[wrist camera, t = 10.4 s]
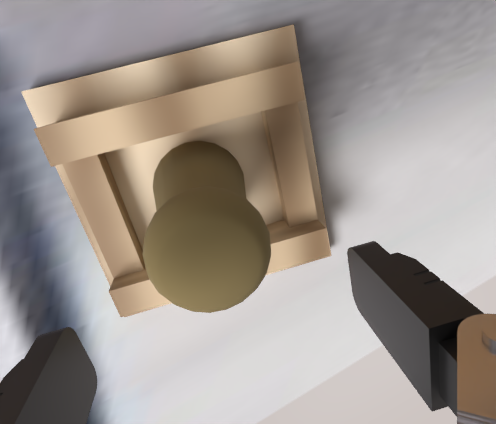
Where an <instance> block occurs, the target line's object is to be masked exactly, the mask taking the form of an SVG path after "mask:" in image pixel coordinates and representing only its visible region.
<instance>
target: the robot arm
mask: <svg viewBox="0 0 496 424" xmlns="http://www.w3.org/2000/svg"><path fill="white" fill-rule="evenodd" d="M347 255H348V263H349V270H350V277H351V285H352V292H353V297H354V300H355V303H356V305H357V308H358V310H359V311H360V313H361V315H362V316H363V317H364V319H365V320H366V321H367V323H368V324H369V326H370V327H371V328H372V330H373V331H374V332H375V334H376V335H377V337H378V338H379V339H380V341H381V342H382V343H383V345H384V346H385V348H386V349H387V350H388V352H389V353H390V354H391V356H392V357H393V359H394V360H395V361H396V363H397V364H398V365H399V367H400V368H401V369H402V371H403V372H404V374H405V375H406V376H407V378H408V379H409V380H410V382H411V383H412V385H413V386H414V387H415V389H416V390H417V392H418V393H419V394H420V396H421V397H422V398H423V400H424V401H425V403H426V404H427V405H428V407H429V408H430V409H431V411H435V410H438V409H441V408H444V407H447V406H449V407H450V409H451V410H452V411H453V413H454V414H455V415H456V416H457V424H496V314H484V313H483V312H481V311H480V310H479V309H478V308H476V307H475V306H474V305H473V304H471V303H470V302H469V301H468V300H466V299H465V298H464V297H463V296H461V295H460V294H459V293H457V292H456V291H455V290H454V289H452V288H451V287H450V286H449V285H447V284H446V283H445V282H444V281H440V278H439V277H437V276H436V275H435V274H434V273H432V272H429V269H427V268H426V267H425V266H423V265H422V264H421V263H420V262H418V261H417V260H416V259H414V258H411V257H408V256H406V255H403V254H400V253H394V254H391V255H390V254H389V253H388V252H387V251H386V250H385V249H383V248H382V247H381V246H380V245H379V244H378V243H376V242H375V241H372V242H369V243H365V244H362V245H358V246H355V247H351V248H349V249H348V252H347ZM96 389H97V376H96V371H95V368H94V366H93V364H92V362H91V360H90V359H89V357H88V355H87V353H86V351H85V349H84V347H83V345H82V343H81V342H80V340H79V338H78V336H77V334H76V332H75V331H74V330H73V329H72V328H70V327H67V328H63V329H60V330H56V331H52V332H49V333H45V334H42V335H40V336H38V337H37V338H36V340H35V342H34V343H33V345H32V346H31V348H30V350H29V351H28V353H27V355H26V356H25V358H24V359H22V360H21V361H20V362H19V363H18V364H17V365H16V366H15V367H14V368H13V369H12V370H11V371H10V372H9V373H8V374H7V375H6V376H5V377H4V378H3V380H2V381H1V383H0V424H86V422H87V419H88V416H89V412H90V409H91V406H92V403H93V400H94V396H95V393H96Z"/></svg>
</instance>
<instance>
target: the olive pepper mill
mask: <svg viewBox="0 0 496 424" xmlns="http://www.w3.org/2000/svg"><path fill="white" fill-rule="evenodd" d="M153 193H154V199H155V205H156V212H155V214H154V216H153V218H152V220H151V222H150V224H149V226H148V227H147V229H146V233H145V237H144V245H143V253H142V255H143V259H144V263H145V267H146V271H147V274H148V278H149V279H150V281H151V282H152V284H153V285H154V287H155V288H156V290H157V291H158V293H160V294H161V295H162V296H164V297H165V298H166V299H168V300H169V301H170V302H171V303H173V304H175V305H176V306H179V307H182V308H185V309H187V310H190V311H194V312H208V313H211V312H216V311H221V310H226V309H228V308H231V307H233V306H235V305H237V304H239V303H241V302H243V301H244V300H245V299H246V298H247V297H248V296H249V295H250V294H252V293H253V292H254V291H255V290H256V289H257V288H258V286H259V285H260V283H261V281H262V280H263V278H264V277H265V275H266V273H267V270H268V266H269V262H270V258H271V243H270V233H269V230H268V228H267V226H266V224H265V222H264V220H263V218H262V216H261V214H260V212H259V211H258V210H257V209H256V208H255V207H254V206H253V205H252V204H251V203H250V202H249V201H248V200H247V199H246V191H245V182H244V173H243V171H242V169H241V167H240V165H239V163H238V161H237V160H236V158H235V157H234V156H233V155H232V154H231V153H230V152H229V151H228V150H226V149H224V148H223V147H221V146H219V145H217V144H215V143H210V142H205V141H193V142H186V143H183V144H181V145H179V146H177V147H175V148H173V149H171V150H170V151H169V152H168V153H167V154H166V155H165V156H164V157H163V158H162V159H161V160H160V162H159V164H158V166H157V168H156V170H155V172H154V179H153Z"/></svg>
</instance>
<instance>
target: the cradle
mask: <svg viewBox="0 0 496 424" xmlns="http://www.w3.org/2000/svg"><path fill="white" fill-rule="evenodd" d="M22 94H23V97H24V99H25V101H26V103H27V105H28V108H29V110H30V112H31V114H32V116H33V118H34V121H35V123H36V125H37V127H38V128H35V129H34V131H35V133H36V135H37V137H38V140H39V142H40V144H41V146H42V148H43V150H44V152H45V155H46V157H47V159H48V161H49V163H50V165H51V167H52V166H55V167H56V169H57V171H58V173H59V175H60V177H61V180H62V182H63V184H64V186H65V188H66V191H67V193H68V195H69V197H70V199H71V201H72V204H73V206H74V208H75V210H76V212H77V215H78V217H79V219H80V221H81V223H82V225H83V228H84V230H85V232H86V234H87V236H88V239H89V241H90V243H91V245H92V247H93V249H94V252H95V254H96V256H97V258H98V260H99V263H100V265H101V267H102V269H103V271H104V273H105V276H106V278H107V280H108V282H109V284H110V290H109V293H110V295H111V297H112V299H113V301H114V304H115V306H116V308H117V310H118V312H119V314H120V317H123V316H124V317H127V316H130V315H134V314H137V313H140V312H144V311H147V310H150V309H154V308H157V307H161V306H164V305H167V304H171V302H170V301H169V300H168V299H166V298H165V297H164V296H162V295H161V294H160V293H158V291H157V290H156V288H155V287H154V285H153V284H152V282H151V281H150V279H149V278H148V274H147V271H146V267H145V263H144V259H143V255H142V253H143V245H144V237H145V233H146V229H147V227H148V226H149V224H150V222H151V220H152V218H153V216H154V214H155V212H156V205H155V199H154V193H153V179H154V172H155V170H156V168H157V166H158V164H159V162H160V160H161V159H162V158H163V157H164V156H165V155H166V154H167V153H168V152H169V151H170V150H171V149H173V148H175V147H177V146H179V145H181V144H183V143H186V142H193V141H205V142H210V143H215V144H217V145H219V146H221V147H223V148H224V149H226V150H228V151H229V152H230V153H231V154H232V155H233V156H234V157H235V158H236V160H237V161H238V163H239V165H240V167H241V169H242V171H243V173H244V182H245V191H246V199H247V200H248V201H249V202H250V203H251V204H252V205H253V206H254V207H255V208H256V209H257V210H258V211H259V212H260V214H261V216H262V218H263V220H264V222H265V224H266V226H267V228H268V230H269V233H270V243H271V258H270V262H269V266H268V270H267V273H266V275H268V274H272V273H275V272H278V271H282V270H285V269H288V268H292V267H295V266H299V265H302V264H305V263H309V262H312V261H315V260H319V259H322V258H325V257H329V256H331V250H330V244H329V238H328V232H327V226H326V220H325V213H324V207H323V201H322V195H321V189H320V183H319V177H318V170H317V164H316V158H315V152H314V146H313V140H312V134H311V127H310V121H309V115H308V109H307V103H306V97H305V91H304V84H303V78H302V72H301V66H300V60H299V54H298V48H297V41H296V35H295V29H294V24H293V25H289V26H285V27H281V28H277V29H273V30H269V31H265V32H261V33H257V34H253V35H249V36H245V37H241V38H237V39H233V40H229V41H225V42H220V43H216V44H212V45H208V46H204V47H200V48H196V49H192V50H188V51H184V52H180V53H176V54H172V55H168V56H164V57H160V58H156V59H152V60H148V61H143V62H139V63H135V64H131V65H127V66H123V67H119V68H115V69H111V70H107V71H103V72H99V73H95V74H91V75H87V76H83V77H79V78H75V79H71V80H67V81H62V82H58V83H54V84H50V85H46V86H42V87H38V88H34V89H30V90H26V91H22Z"/></svg>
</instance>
